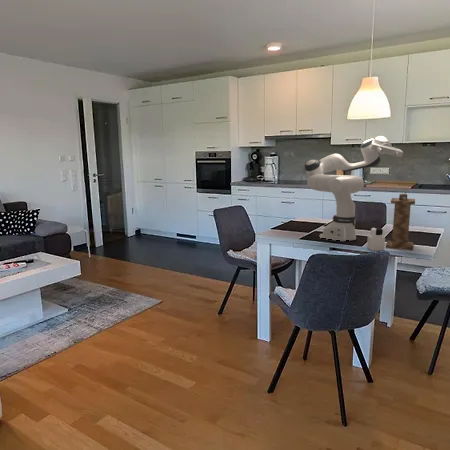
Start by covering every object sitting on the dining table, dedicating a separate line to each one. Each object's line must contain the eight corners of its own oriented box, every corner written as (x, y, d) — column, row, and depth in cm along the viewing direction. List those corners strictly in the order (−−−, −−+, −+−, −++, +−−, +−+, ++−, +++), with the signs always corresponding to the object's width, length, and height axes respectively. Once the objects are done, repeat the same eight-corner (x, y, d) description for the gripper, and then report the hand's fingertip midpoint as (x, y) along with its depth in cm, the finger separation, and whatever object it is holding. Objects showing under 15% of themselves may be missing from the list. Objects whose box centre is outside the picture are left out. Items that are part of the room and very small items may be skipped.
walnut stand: (385, 247, 219) (388, 200, 213) (387, 242, 229) (390, 197, 224) (413, 250, 213) (417, 201, 207) (413, 245, 223) (416, 198, 218)
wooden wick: (399, 200, 215) (399, 194, 214) (399, 196, 229) (400, 191, 228) (406, 200, 213) (407, 195, 212) (407, 196, 227) (407, 191, 226)
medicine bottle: (379, 247, 220) (380, 226, 218) (384, 250, 213) (386, 229, 211) (366, 247, 220) (368, 227, 217) (371, 250, 213) (373, 229, 210)
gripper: (397, 155, 252) (402, 162, 239) (367, 147, 253) (370, 153, 240) (402, 146, 249) (407, 152, 236) (371, 138, 250) (374, 144, 237)
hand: (388, 153), depth 238 cm, fingers open, 8 cm apart
